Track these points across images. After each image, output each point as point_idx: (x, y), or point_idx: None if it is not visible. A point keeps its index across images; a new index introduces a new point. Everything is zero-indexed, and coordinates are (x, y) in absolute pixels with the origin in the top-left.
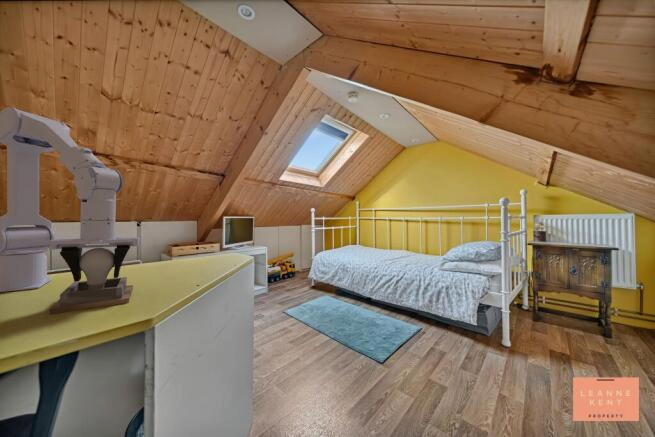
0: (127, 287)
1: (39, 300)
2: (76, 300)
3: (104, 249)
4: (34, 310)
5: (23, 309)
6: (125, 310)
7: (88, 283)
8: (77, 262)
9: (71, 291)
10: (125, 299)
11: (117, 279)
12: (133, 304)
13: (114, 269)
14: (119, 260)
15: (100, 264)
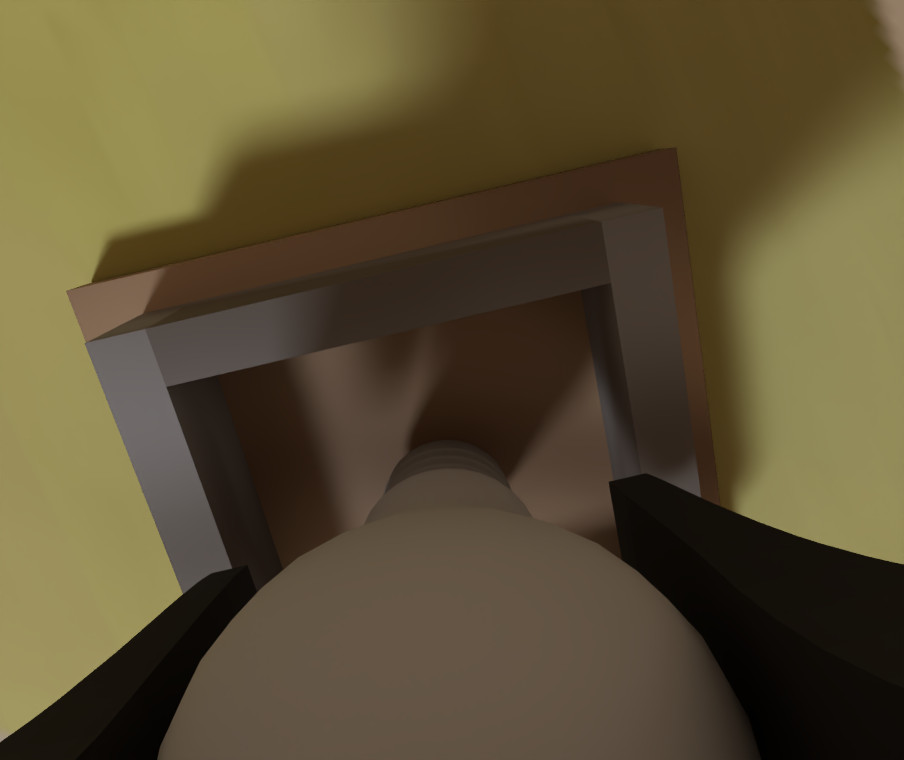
0: None
1: None
2: (506, 233)
3: None
4: (811, 303)
5: (899, 356)
6: (4, 31)
7: (506, 490)
8: (746, 653)
9: (622, 389)
10: (101, 285)
11: None
12: (13, 210)
13: (190, 628)
14: (13, 749)
15: (307, 561)
